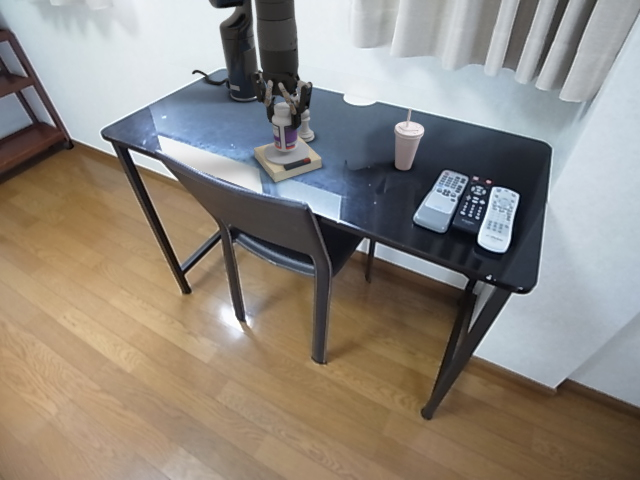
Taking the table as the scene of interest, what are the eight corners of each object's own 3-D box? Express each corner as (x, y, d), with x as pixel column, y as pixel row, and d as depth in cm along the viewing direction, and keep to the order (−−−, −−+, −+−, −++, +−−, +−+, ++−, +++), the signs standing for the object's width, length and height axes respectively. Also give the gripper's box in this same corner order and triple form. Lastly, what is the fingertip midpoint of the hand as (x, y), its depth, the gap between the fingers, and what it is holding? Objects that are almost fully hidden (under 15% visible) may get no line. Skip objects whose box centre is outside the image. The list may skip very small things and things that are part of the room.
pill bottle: (299, 140, 88) (297, 101, 81) (296, 153, 84) (293, 112, 77) (276, 139, 89) (273, 100, 82) (272, 152, 85) (268, 111, 78)
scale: (254, 157, 91) (253, 144, 89) (298, 144, 95) (297, 132, 93) (275, 183, 83) (274, 170, 81) (322, 167, 88) (322, 155, 85)
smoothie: (393, 156, 91) (401, 100, 81) (419, 161, 89) (431, 105, 79) (386, 170, 87) (394, 113, 77) (413, 176, 85) (425, 118, 75)
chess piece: (294, 135, 98) (292, 105, 93) (311, 132, 99) (310, 103, 94) (299, 143, 95) (297, 114, 90) (316, 140, 96) (316, 111, 91)
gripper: (235, 42, 71) (248, 124, 83) (299, 55, 66) (303, 140, 78) (259, 31, 76) (268, 110, 87) (320, 42, 70) (321, 125, 82)
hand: (284, 124), depth 83 cm, fingers closed on pill bottle, 5 cm apart
